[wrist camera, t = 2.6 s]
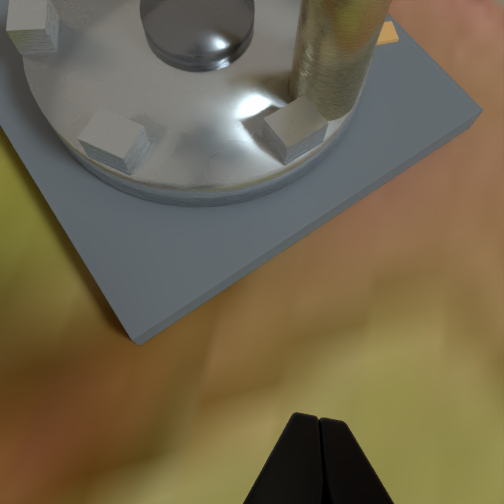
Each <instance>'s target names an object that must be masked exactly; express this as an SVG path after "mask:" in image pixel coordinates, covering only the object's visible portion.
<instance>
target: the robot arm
mask: <svg viewBox="0 0 504 504" xmlns="http://www.w3.org/2000/svg"><path fill="white" fill-rule="evenodd" d="M243 504H394V503H393V501H392V499H391V498H390V496H389V494H388V492H387V491H386V489H385V487H384V486H383V484H382V482H381V481H380V479H379V477H378V476H377V474H376V472H375V471H374V469H373V467H372V466H371V464H370V462H369V461H368V459H367V457H366V456H365V454H364V452H363V451H362V449H361V447H360V446H359V444H358V442H357V441H356V439H355V437H354V436H353V434H352V432H351V431H350V429H349V427H348V426H347V424H346V423H345V422H343V421H340V420H335V419H330V418H324V417H323V418H320V419H319V420H318V418H317V417H316V416H314V415H308V414H303V413H298V412H296V413H294V414H292V416H291V418H290V419H289V421H288V423H287V425H286V427H285V429H284V430H283V432H282V434H281V436H280V438H279V439H278V441H277V443H276V445H275V447H274V449H273V450H272V452H271V454H270V456H269V458H268V459H267V461H266V463H265V465H264V467H263V468H262V470H261V472H260V474H259V476H258V478H257V479H256V481H255V483H254V485H253V487H252V488H251V490H250V492H249V494H248V496H247V498H246V499H245V501H244V503H243Z"/></svg>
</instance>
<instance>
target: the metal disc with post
mask: <svg viewBox="0 0 504 504" xmlns="http://www.w3.org/2000/svg"><path fill="white" fill-rule="evenodd" d="M391 2H392V0H9V6H8V16H7V25H6V32H7V33H8V35H9V37H10V38H11V40H12V41H13V43H14V45H15V46H16V48H17V50H18V51H19V53H20V54H21V55H22V57H23V64H24V70H25V75H26V78H27V81H28V84H29V87H30V90H31V93H32V94H33V96H34V98H35V100H36V102H37V104H38V106H39V107H40V109H41V111H42V112H43V114H44V115H45V117H46V119H47V120H48V122H49V123H50V125H51V126H52V128H53V129H54V131H55V132H56V134H57V135H58V137H59V138H60V140H61V141H62V142H63V144H64V145H65V146H66V148H67V149H68V150H69V152H70V153H71V154H72V155H73V156H74V157H75V158H76V159H77V160H78V161H79V162H80V163H81V164H82V165H83V166H84V167H85V168H86V169H87V170H88V171H90V172H91V173H93V174H94V175H95V176H97V177H98V178H100V179H101V180H102V181H104V182H106V183H107V184H109V185H111V186H113V187H115V188H117V189H119V190H121V191H122V192H125V193H128V194H130V195H133V196H136V197H138V198H141V199H144V200H147V201H152V202H156V203H160V204H164V205H171V206H180V207H219V206H226V205H234V204H239V203H243V202H247V201H251V200H254V199H258V198H261V197H263V196H266V195H268V194H271V193H274V192H276V191H279V190H281V189H282V188H284V187H286V186H288V185H290V184H292V183H294V182H295V181H297V180H299V179H300V178H302V177H303V176H304V175H306V174H307V173H308V172H310V171H311V170H313V169H314V168H315V167H316V166H317V165H318V164H319V163H321V162H322V161H323V160H324V159H325V158H326V157H327V156H328V155H329V154H330V153H331V151H332V150H333V149H334V148H335V146H336V145H337V144H338V143H339V141H340V140H341V139H342V137H343V135H344V134H345V132H346V130H347V128H348V127H349V125H350V123H351V121H352V118H353V116H354V113H355V110H356V108H357V105H358V102H359V100H360V97H361V94H362V92H363V89H364V86H365V83H366V81H367V78H368V75H369V72H370V67H371V62H372V57H373V52H374V49H375V47H376V44H377V41H378V38H379V35H380V33H381V30H382V27H383V24H384V21H385V19H386V16H387V13H388V10H389V7H390V4H391Z"/></svg>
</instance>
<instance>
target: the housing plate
mask: <svg viewBox="0 0 504 504" xmlns="http://www.w3.org/2000/svg"><path fill="white" fill-rule="evenodd" d="M8 6H9V0H0V126H1V127H2V129H3V130H4V132H5V134H6V135H7V137H8V139H9V140H10V142H11V144H12V145H13V147H14V148H15V150H16V152H17V153H18V155H19V157H20V158H21V160H22V162H23V163H24V165H25V166H26V168H27V170H28V171H29V173H30V175H31V176H32V178H33V180H34V181H35V183H36V184H37V186H38V188H39V189H40V191H41V193H42V194H43V196H44V198H45V199H46V201H47V202H48V204H49V206H50V207H51V209H52V211H53V212H54V214H55V216H56V217H57V219H58V220H59V222H60V224H61V225H62V227H63V229H64V230H65V232H66V234H67V235H68V237H69V238H70V240H71V242H72V243H73V245H74V247H75V248H76V250H77V252H78V253H79V255H80V256H81V258H82V260H83V261H84V263H85V265H86V266H87V268H88V270H89V271H90V273H91V274H92V276H93V278H94V279H95V281H96V283H97V284H98V286H99V288H100V289H101V291H102V292H103V294H104V296H105V297H106V299H107V301H108V302H109V304H110V306H111V307H112V309H113V310H114V312H115V314H116V315H117V317H118V319H119V320H120V322H121V324H122V325H123V327H124V328H125V330H126V332H127V333H128V335H129V337H130V338H131V340H132V341H133V342H135V343H136V344H138V345H139V346H140V345H141V344H143V343H144V342H146V341H147V340H149V339H150V338H152V337H153V336H155V335H156V334H158V333H159V332H161V331H163V330H164V329H166V328H167V327H169V326H170V325H172V324H173V323H175V322H176V321H178V320H179V319H181V318H182V317H184V316H185V315H187V314H188V313H190V312H191V311H193V310H194V309H196V308H197V307H199V306H200V305H202V304H203V303H205V302H206V301H208V300H209V299H211V298H212V297H214V296H215V295H217V294H218V293H220V292H222V291H223V290H225V289H226V288H228V287H229V286H231V285H232V284H234V283H235V282H237V281H238V280H240V279H241V278H243V277H244V276H246V275H247V274H249V273H250V272H252V271H253V270H255V269H256V268H258V267H259V266H261V265H262V264H264V263H265V262H267V261H268V260H270V259H271V258H273V257H274V256H276V255H277V254H279V253H280V252H282V251H284V250H285V249H287V248H288V247H290V246H291V245H293V244H294V243H296V242H297V241H299V240H300V239H302V238H303V237H305V236H306V235H308V234H309V233H311V232H312V231H314V230H315V229H317V228H318V227H320V226H321V225H323V224H324V223H326V222H327V221H329V220H330V219H332V218H333V217H335V216H336V215H338V214H339V213H341V212H343V211H344V210H346V209H347V208H349V207H350V206H352V205H353V204H355V203H356V202H358V201H359V200H361V199H362V198H364V197H365V196H367V195H368V194H370V193H371V192H373V191H374V190H376V189H377V188H379V187H380V186H382V185H383V184H385V183H386V182H388V181H389V180H391V179H392V178H394V177H395V176H397V175H398V174H400V173H401V172H403V171H405V170H406V169H408V168H409V167H411V166H412V165H414V164H415V163H417V162H418V161H420V160H421V159H423V158H424V157H426V156H427V155H429V154H430V153H432V152H433V151H435V150H436V149H438V148H439V147H441V146H442V145H444V144H445V143H447V142H448V141H450V140H451V139H453V138H454V137H456V136H457V135H459V134H460V133H462V132H464V131H465V130H467V129H468V128H470V126H471V125H472V124H473V123H474V121H475V120H476V119H477V117H478V116H479V115H480V114H481V112H482V111H483V109H482V108H481V107H480V106H479V105H478V104H477V103H476V102H475V101H474V100H473V99H472V98H471V97H470V96H469V95H468V94H467V93H466V92H465V91H464V90H463V89H462V88H461V87H460V86H459V85H458V84H457V83H456V82H455V81H454V80H453V79H452V78H451V77H450V76H449V75H448V74H447V73H446V72H445V71H444V70H443V69H442V68H441V67H440V66H439V65H438V64H437V63H436V62H435V61H434V60H433V59H432V58H431V57H430V56H429V55H428V54H427V53H426V52H425V51H424V50H423V49H422V48H421V47H420V46H419V45H418V44H417V43H416V42H415V41H414V40H413V39H412V38H411V37H410V36H409V35H408V34H407V33H406V32H405V31H404V30H403V29H402V28H401V26H400V25H399V24H398V23H397V22H396V21H395V20H394V19H393V18H392V17H391V16H390V15H389V14H388V13H387V16H386V19H385V21H384V24H383V27H382V30H381V33H380V35H379V38H378V41H377V44H376V47H375V49H374V52H373V57H372V62H371V67H370V72H369V75H368V78H367V81H366V83H365V86H364V89H363V92H362V94H361V97H360V100H359V102H358V105H357V108H356V110H355V113H354V116H353V118H352V121H351V123H350V125H349V127H348V128H347V130H346V132H345V134H344V135H343V137H342V139H341V140H340V141H339V143H338V144H337V145H336V146H335V148H334V149H333V150H332V151H331V153H330V154H329V155H328V156H327V157H326V158H325V159H324V160H323V161H322V162H321V163H319V164H318V165H317V166H316V167H315V168H314V169H313V170H311V171H310V172H308V173H307V174H306V175H304V176H303V177H302V178H300V179H299V180H297V181H295V182H294V183H292V184H290V185H288V186H286V187H284V188H282V189H281V190H279V191H276V192H274V193H271V194H268V195H266V196H263V197H261V198H258V199H254V200H251V201H247V202H243V203H239V204H234V205H226V206H219V207H180V206H171V205H164V204H160V203H156V202H152V201H147V200H144V199H141V198H138V197H136V196H133V195H130V194H128V193H125V192H122V191H121V190H119V189H117V188H115V187H113V186H111V185H109V184H107V183H106V182H104V181H102V180H101V179H100V178H98V177H97V176H95V175H94V174H93V173H91V172H90V171H88V170H87V169H86V168H85V167H84V166H83V165H82V164H81V163H80V162H79V161H78V160H77V159H76V158H75V157H74V156H73V155H72V154H71V153H70V152H69V150H68V149H67V148H66V146H65V145H64V144H63V142H62V141H61V140H60V138H59V137H58V135H57V134H56V132H55V131H54V129H53V128H52V126H51V125H50V123H49V122H48V120H47V119H46V117H45V115H44V114H43V112H42V111H41V109H40V107H39V106H38V104H37V102H36V100H35V98H34V96H33V94H32V93H31V90H30V87H29V84H28V81H27V78H26V75H25V70H24V64H23V57H22V55H21V54H20V53H19V51H18V50H17V48H16V46H15V45H14V43H13V41H12V40H11V38H10V37H9V35H8V33H7V32H6V25H7V16H8Z"/></svg>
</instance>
